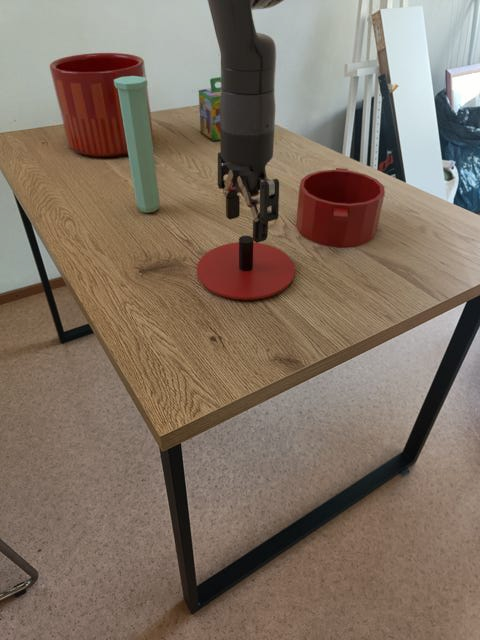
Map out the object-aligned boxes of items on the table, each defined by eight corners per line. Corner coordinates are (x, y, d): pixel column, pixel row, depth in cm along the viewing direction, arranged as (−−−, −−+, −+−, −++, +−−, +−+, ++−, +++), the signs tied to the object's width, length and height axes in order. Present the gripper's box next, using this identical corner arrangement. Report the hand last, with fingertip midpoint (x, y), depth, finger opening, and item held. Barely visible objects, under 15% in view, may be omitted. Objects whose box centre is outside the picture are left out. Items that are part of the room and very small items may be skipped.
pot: (373, 206, 97) (381, 167, 92) (378, 258, 81) (388, 216, 76) (300, 200, 99) (304, 162, 94) (291, 250, 83) (295, 208, 78)
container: (168, 211, 95) (153, 80, 79) (144, 219, 92) (124, 86, 76) (153, 201, 99) (135, 74, 82) (129, 209, 96) (106, 79, 79)
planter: (135, 125, 137) (123, 49, 124) (168, 148, 123) (159, 65, 110) (59, 139, 128) (38, 58, 115) (84, 166, 113) (64, 77, 100)
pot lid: (298, 251, 83) (301, 219, 79) (289, 308, 71) (293, 273, 66) (209, 243, 85) (207, 211, 81) (185, 296, 73) (182, 262, 69)
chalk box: (213, 142, 127) (211, 84, 117) (199, 132, 133) (196, 76, 123) (242, 136, 130) (242, 80, 120) (227, 127, 136) (226, 72, 126)
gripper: (299, 134, 59) (290, 242, 69) (244, 106, 68) (243, 205, 79) (250, 144, 56) (248, 256, 66) (199, 113, 65) (205, 215, 76)
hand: (245, 228), depth 73 cm, fingers open, 8 cm apart
